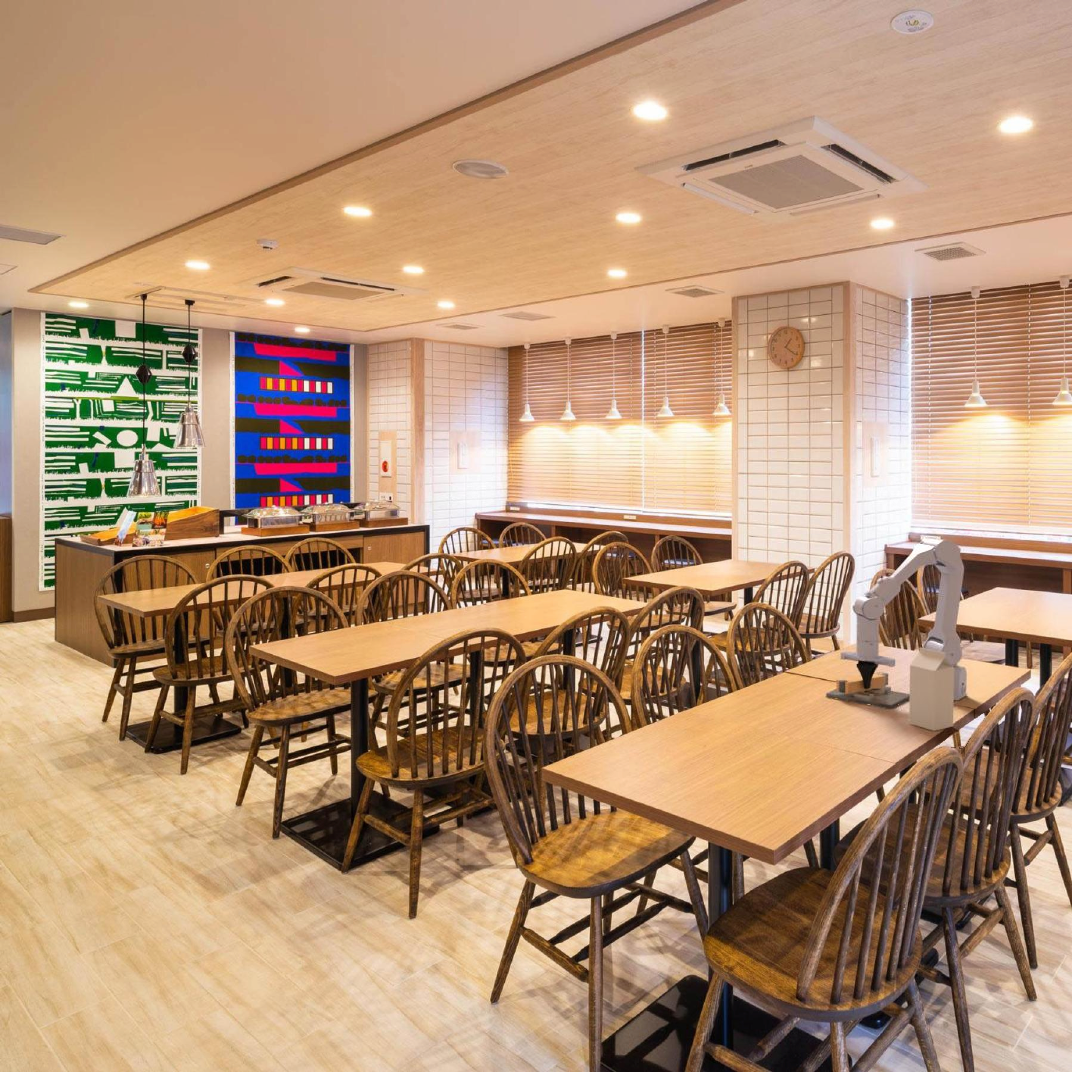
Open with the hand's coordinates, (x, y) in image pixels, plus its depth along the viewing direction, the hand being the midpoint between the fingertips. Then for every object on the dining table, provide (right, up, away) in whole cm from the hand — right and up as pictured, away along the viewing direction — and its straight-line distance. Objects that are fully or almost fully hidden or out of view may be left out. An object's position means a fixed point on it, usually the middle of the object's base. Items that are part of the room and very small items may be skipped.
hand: (867, 688), depth 230 cm
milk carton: (+6, -5, -25) cm, 26 cm away
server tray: (+2, -3, +3) cm, 4 cm away
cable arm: (+1, -1, +4) cm, 4 cm away
